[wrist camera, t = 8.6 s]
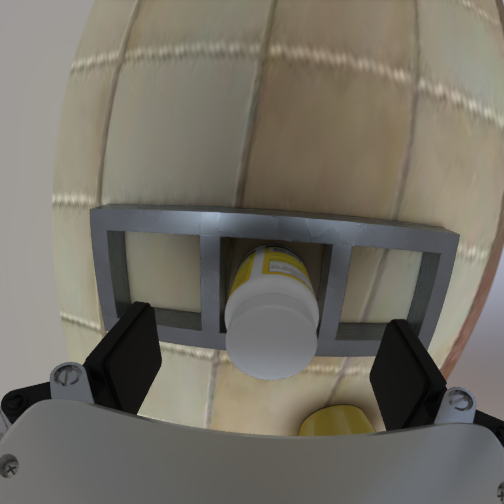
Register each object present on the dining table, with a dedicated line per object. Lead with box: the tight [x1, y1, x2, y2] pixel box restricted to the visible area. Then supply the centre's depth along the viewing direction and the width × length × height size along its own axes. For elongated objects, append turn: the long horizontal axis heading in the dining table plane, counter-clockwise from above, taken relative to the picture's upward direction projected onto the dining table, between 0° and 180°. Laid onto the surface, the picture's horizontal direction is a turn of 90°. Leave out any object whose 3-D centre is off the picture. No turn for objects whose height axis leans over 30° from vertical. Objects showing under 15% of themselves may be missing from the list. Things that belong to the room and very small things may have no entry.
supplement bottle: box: [225, 244, 319, 380], centre depth 16 cm, size 5×5×8 cm
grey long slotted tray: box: [90, 204, 460, 357], centre depth 19 cm, size 9×25×2 cm, turn 87°
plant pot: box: [299, 405, 376, 436], centre depth 19 cm, size 10×10×10 cm
